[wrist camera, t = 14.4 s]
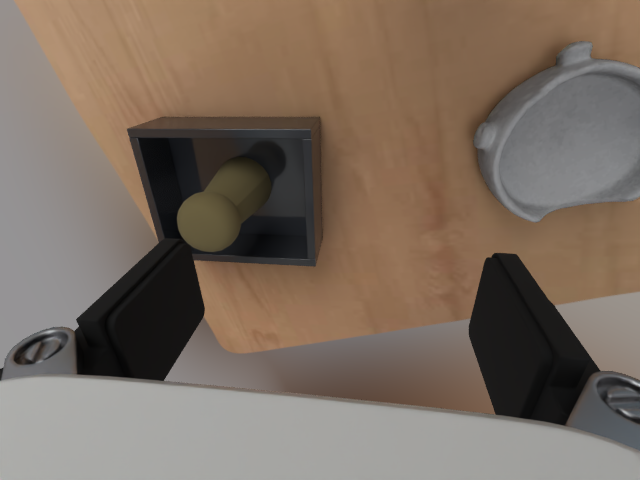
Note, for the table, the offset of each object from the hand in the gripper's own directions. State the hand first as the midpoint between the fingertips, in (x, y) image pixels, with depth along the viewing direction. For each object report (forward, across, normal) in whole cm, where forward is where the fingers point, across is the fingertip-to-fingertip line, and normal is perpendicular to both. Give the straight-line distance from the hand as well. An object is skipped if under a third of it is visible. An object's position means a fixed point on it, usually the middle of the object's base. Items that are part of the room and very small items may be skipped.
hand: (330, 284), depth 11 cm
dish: (+26, -18, +1) cm, 32 cm away
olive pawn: (+26, +12, +6) cm, 29 cm away
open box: (+26, +12, +6) cm, 30 cm away
